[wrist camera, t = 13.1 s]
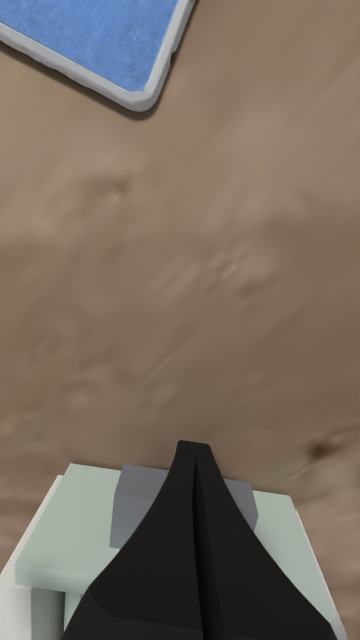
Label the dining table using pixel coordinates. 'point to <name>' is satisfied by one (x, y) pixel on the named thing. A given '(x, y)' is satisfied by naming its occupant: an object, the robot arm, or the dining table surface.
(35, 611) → the white drawer housing
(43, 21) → the tablet computer
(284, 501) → the tray
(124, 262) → the dining table surface
